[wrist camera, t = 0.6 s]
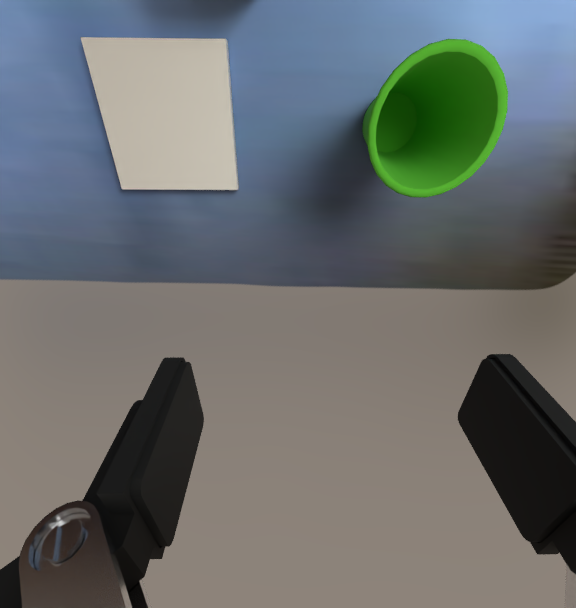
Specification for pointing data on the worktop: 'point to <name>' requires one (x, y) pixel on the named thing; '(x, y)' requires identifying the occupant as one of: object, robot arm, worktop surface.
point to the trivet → (166, 111)
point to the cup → (436, 118)
